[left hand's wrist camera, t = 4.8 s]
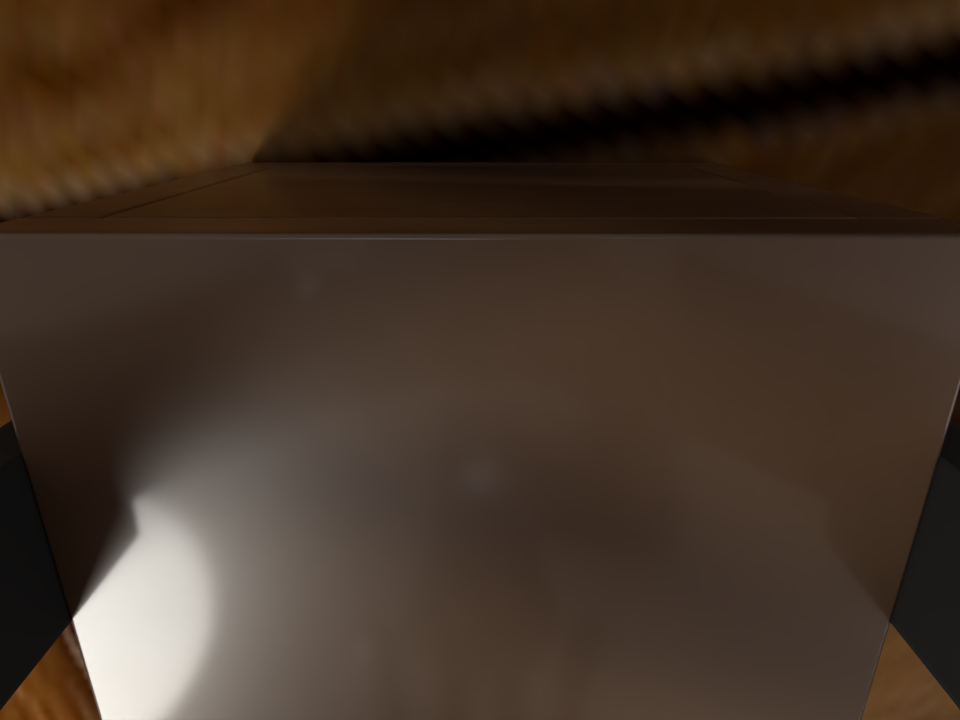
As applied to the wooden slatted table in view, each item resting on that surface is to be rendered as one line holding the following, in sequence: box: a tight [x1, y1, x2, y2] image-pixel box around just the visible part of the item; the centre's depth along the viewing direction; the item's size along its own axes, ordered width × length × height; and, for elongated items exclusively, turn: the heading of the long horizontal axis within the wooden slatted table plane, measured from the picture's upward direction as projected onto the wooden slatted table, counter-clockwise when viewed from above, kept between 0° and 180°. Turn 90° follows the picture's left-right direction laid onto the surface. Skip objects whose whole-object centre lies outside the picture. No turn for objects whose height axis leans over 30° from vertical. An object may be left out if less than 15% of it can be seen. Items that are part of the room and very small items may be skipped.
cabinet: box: [0, 162, 960, 720], centre depth 15 cm, size 20×12×10 cm, turn 0°
